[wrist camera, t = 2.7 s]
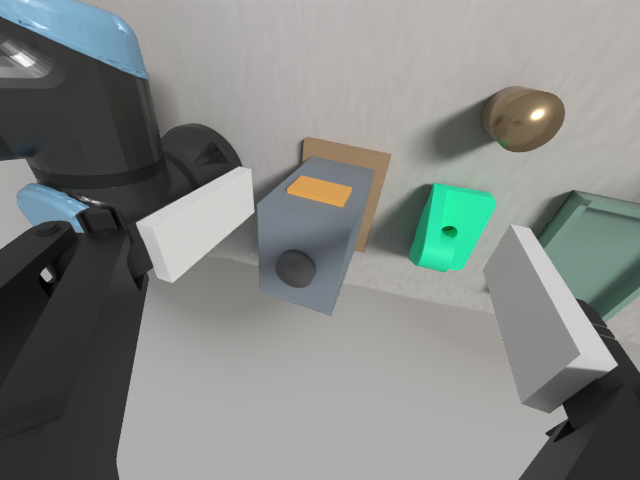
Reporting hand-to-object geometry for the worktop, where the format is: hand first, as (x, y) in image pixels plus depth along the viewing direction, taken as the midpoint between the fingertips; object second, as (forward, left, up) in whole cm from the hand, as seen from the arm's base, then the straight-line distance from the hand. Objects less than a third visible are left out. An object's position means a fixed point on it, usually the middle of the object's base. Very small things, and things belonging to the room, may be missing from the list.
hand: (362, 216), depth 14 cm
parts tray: (+28, -11, -24) cm, 39 cm away
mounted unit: (-6, -11, -24) cm, 27 cm away
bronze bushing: (+11, +4, -25) cm, 27 cm away
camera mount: (+11, -11, -25) cm, 29 cm away
